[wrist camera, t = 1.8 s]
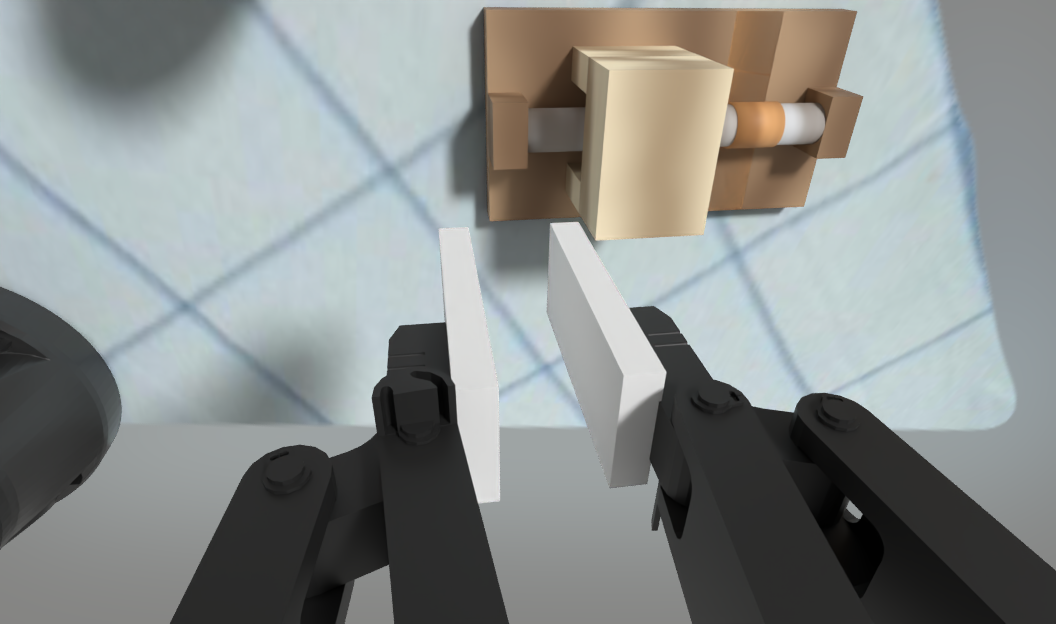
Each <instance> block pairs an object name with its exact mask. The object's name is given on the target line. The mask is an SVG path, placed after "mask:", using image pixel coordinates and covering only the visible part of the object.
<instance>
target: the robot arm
mask: <svg viewBox="0 0 1056 624" xmlns="http://www.w3.org/2000/svg"><path fill="white" fill-rule="evenodd" d="M439 241H440V256H441V271H442V286H443V302H444V317H445V322H444V323H430V324H416V325H402V326H399V327H398V329H397V330H396V331H395V333H394V334H393V335H392V337H391V338H390V339H389V350H388V365H387V369H388V371H387V376H385V377H383V378H382V379H381V380H380V381H379V383H378V384H377V385H376V386H375V387H374V390H373V394H372V403H373V409H374V416H375V422H376V429H377V433H376V434H375V435H374V436H373V437H372V438H371V439H370V440H369V441H367V442H366V443H364V444H363V445H362V446H360V447H358V448H355V449H353V450H351V451H348V452H346V453H343V454H340V455H337V456H334V457H331V458H329V457H328V456H327V454H326V453H325V452H323V451H321V450H319V449H318V448H316V447H312V446H305V445H296V446H288V447H282V448H280V449H277V450H275V451H272V452H270V453H267V454H266V455H264V456H263V457H261V458H260V459H259V460H257V461H256V462H254V463H253V464H252V465H251V466H250V468H249V469H248V470H247V472H246V473H245V474H244V476H243V477H242V479H241V481H240V483H239V485H238V487H237V490H236V491H235V494H234V495H233V497H232V499H231V501H230V504H229V506H228V508H227V510H226V512H225V514H224V516H223V518H222V520H221V522H220V524H219V526H218V528H217V530H216V532H215V534H214V536H213V538H212V540H211V542H210V544H209V546H208V548H207V550H206V552H205V554H204V556H203V558H202V560H201V562H200V564H199V566H198V568H197V570H196V572H195V574H194V576H193V578H192V580H191V582H190V584H189V586H188V588H187V590H186V592H185V594H184V596H183V598H182V600H181V602H180V604H179V606H178V608H177V610H176V612H175V614H174V616H173V618H172V620H171V622H170V624H345V619H346V615H347V610H348V607H349V602H350V599H351V594H352V590H353V586H354V579H357V578H359V577H361V576H363V575H366V574H368V573H371V572H373V571H375V570H377V569H380V568H382V567H384V566H387V565H389V569H390V579H391V592H392V602H393V614H394V624H509V622H508V618H507V614H506V610H505V606H504V602H503V598H502V594H501V590H500V587H499V583H498V579H497V575H496V571H495V567H494V563H493V559H492V556H491V552H490V548H489V544H488V540H487V536H486V532H485V528H484V524H483V521H482V517H481V513H480V509H479V505H478V503H486V502H495V501H500V466H499V465H500V459H499V385H498V380H497V375H496V370H495V364H494V359H493V354H492V348H491V343H490V338H489V333H488V327H487V322H486V317H485V311H484V306H483V301H482V296H481V290H480V285H479V280H478V275H477V269H476V264H475V259H474V253H473V248H472V243H471V238H470V232H469V227H461V228H440V229H439ZM547 314H548V317H549V320H550V323H551V326H552V328H553V331H554V334H555V337H556V340H557V342H558V345H559V348H560V351H561V354H562V356H563V359H564V362H565V365H566V368H567V370H568V373H569V376H570V379H571V382H572V384H573V387H574V390H575V393H576V396H577V398H578V401H579V404H580V407H581V410H582V412H583V415H584V418H585V421H586V424H587V426H588V429H589V432H590V435H591V438H592V440H593V443H594V446H595V449H596V452H597V454H598V457H599V460H600V463H601V466H602V468H603V471H604V474H605V477H606V480H607V482H608V485H609V488H617V487H625V486H634V485H642V484H647V482H648V476H649V471H650V465H651V464H652V466H653V468H654V471H655V472H656V475H657V477H658V479H659V483H658V488H657V494H656V499H655V505H654V510H653V515H652V530H653V531H654V530H655V531H656V530H658V526H659V521H660V517H661V519H662V522H663V525H664V529H665V533H666V536H667V539H668V543H669V546H670V550H671V553H672V556H673V560H674V563H675V566H676V570H677V573H678V577H679V580H680V583H681V587H682V590H683V594H684V597H685V600H686V604H687V607H688V610H689V614H690V618H691V621H692V624H1056V571H1055V570H1054V569H1053V568H1052V567H1051V566H1050V565H1049V564H1047V563H1046V562H1045V561H1044V560H1043V559H1042V558H1040V557H1039V556H1038V555H1037V554H1036V553H1034V552H1033V551H1032V550H1031V549H1030V548H1029V547H1027V546H1026V545H1025V544H1024V543H1023V542H1021V540H1019V539H1018V538H1017V537H1016V536H1014V535H1013V534H1012V533H1011V532H1010V531H1009V530H1008V529H1006V528H1005V527H1004V526H1003V525H1002V524H1001V523H999V522H998V521H997V520H996V519H995V518H993V517H992V516H991V515H990V514H988V512H986V511H985V510H984V509H983V508H982V507H981V506H980V505H978V504H977V503H976V502H975V501H974V500H972V499H971V498H970V497H969V496H968V495H967V494H965V493H964V492H963V491H962V490H961V489H960V488H958V487H957V486H956V485H955V484H954V483H953V482H951V481H950V480H949V479H948V478H947V477H945V476H944V475H943V474H942V473H941V472H940V471H938V470H937V469H936V468H935V467H934V466H932V465H931V464H930V463H929V462H928V461H927V460H926V459H924V458H923V457H922V456H921V455H920V454H918V453H917V452H916V451H915V450H914V449H913V448H912V447H910V446H909V445H908V444H907V443H906V442H905V441H903V440H902V439H901V438H900V437H899V436H898V435H896V434H895V433H894V432H893V431H892V430H890V429H889V428H888V427H887V426H886V425H885V424H883V423H882V422H881V421H880V420H879V419H878V418H876V417H875V416H874V415H873V414H872V413H871V412H869V411H868V410H867V409H865V408H864V407H862V406H861V405H859V404H858V403H856V402H854V401H852V400H849V399H847V398H844V397H842V396H839V395H833V394H828V393H812V394H809V395H807V396H804V397H802V398H801V399H800V401H799V402H798V404H797V405H796V408H795V411H794V413H792V412H785V411H777V410H769V409H762V408H758V407H753V406H751V404H750V402H749V400H748V399H747V398H746V397H745V396H744V395H743V394H742V392H741V391H739V390H737V389H736V388H734V387H732V386H731V385H729V384H726V383H723V382H720V381H717V380H713V379H712V377H711V376H710V374H709V373H708V371H707V370H706V368H705V367H704V366H703V364H702V363H701V361H700V360H699V358H698V357H697V355H696V354H695V352H694V351H693V349H692V348H691V346H690V345H688V344H687V341H686V339H685V338H684V336H683V335H682V334H680V330H679V329H678V327H677V326H676V325H675V323H674V322H673V320H672V319H671V317H669V316H668V315H666V314H665V313H663V312H662V311H660V310H659V309H657V308H656V307H654V306H648V307H634V308H629V307H628V306H627V304H626V302H625V301H624V299H623V297H622V295H621V294H620V292H619V290H618V289H617V287H616V285H615V283H614V282H613V280H612V278H611V277H610V275H609V273H608V271H607V270H606V268H605V266H604V265H603V263H602V261H601V260H600V258H599V256H598V254H597V253H596V251H595V249H594V248H593V246H592V244H591V242H590V241H589V239H588V237H587V236H586V234H585V232H584V231H583V229H582V227H581V225H580V224H579V222H564V223H550V240H549V265H548V291H547ZM120 421H121V400H120V394H119V391H118V387H117V384H116V382H115V379H114V377H113V375H112V373H111V371H110V369H109V368H108V366H107V364H106V363H105V361H104V360H103V359H102V357H101V356H100V355H99V353H98V352H97V351H96V350H95V348H94V347H93V346H92V345H91V344H90V343H89V342H88V341H87V340H86V339H85V338H84V337H83V336H82V335H81V334H80V333H79V332H77V331H76V330H75V329H74V328H73V327H71V326H70V325H69V324H68V323H66V322H65V321H64V320H62V319H61V318H60V317H58V316H57V315H55V314H53V313H52V312H50V311H49V310H47V309H45V308H44V307H42V306H40V305H39V304H37V303H35V302H33V301H31V300H29V299H27V298H25V297H23V296H21V295H19V294H16V293H14V292H12V291H9V290H7V289H4V288H2V287H0V550H1V548H2V547H3V546H4V545H6V544H7V543H8V542H10V541H11V540H12V539H14V538H15V537H16V536H17V535H19V534H20V533H21V532H22V531H24V530H25V529H26V528H28V527H29V526H30V525H31V524H33V523H34V522H35V521H36V520H37V519H39V518H40V517H41V516H42V515H43V514H45V513H46V512H47V511H48V510H49V509H50V508H51V507H52V506H53V505H54V504H55V503H56V502H58V501H60V500H62V499H63V498H65V497H66V496H68V495H69V494H70V493H72V492H73V491H74V490H76V489H77V488H78V487H79V486H81V485H82V484H83V483H84V482H85V481H86V480H87V479H88V478H89V477H90V475H91V474H92V473H93V472H94V471H95V469H96V468H97V467H98V465H99V464H100V462H101V460H102V459H103V457H104V455H105V454H106V452H107V451H108V449H109V447H110V446H111V444H112V442H113V440H114V439H115V437H116V434H117V432H118V429H119V426H120ZM849 500H850V501H851V502H852V503H853V504H854V505H855V506H856V507H857V508H858V509H859V510H860V511H861V512H862V514H863V515H862V517H861V519H858V518H856V517H855V516H853V515H852V514H851V513H850V512H849V511H848V510H847V509H846V507H847V505H848V502H849Z"/></svg>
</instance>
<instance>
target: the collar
mask: <svg viewBox="0 0 1056 624" xmlns="http://www.w3.org/2000/svg"><path fill="white" fill-rule="evenodd" d="M733 72H734V69H733V68H730V67H728V66H725V65H723V64H720V63H717V62H715V61H712V60H710V59H707V58H705V57H702V56H700V55H697V54H695V53H692V52H690V51H687V50H685V49H682V48H680V47H677V46H573V54H572V73H571V81H572V82H573V83H575V84H576V85H577V86H578V87H579V88H580V89H581V90H582V91H584V92H585V93H586V106H585V121H584V137H583V152H582V162H581V163H567V170H566V189H565V191H566V193H567V195H568V196H569V198H570V200H571V201H572V203H573V204H574V206H575V208H576V209H577V211H578V213H579V214H580V216H581V218H582V219H583V221H584V223H585V224H586V226H587V228H588V229H589V231H590V233H591V234H592V236H593V237H594V239H595V241H596V240H615V239H634V238H653V237H672V236H691V235H703V234H704V229H705V223H706V218H707V212H708V207H709V202H710V196H711V191H712V185H713V180H714V175H715V169H716V164H717V158H718V153H719V148H720V142H721V137H722V131H723V126H724V121H725V115H726V110H727V104H728V99H729V94H730V88H731V83H732V77H733Z"/></svg>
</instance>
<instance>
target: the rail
mask: <svg viewBox="0 0 1056 624" xmlns="http://www.w3.org/2000/svg"><path fill="white" fill-rule="evenodd" d="M856 14H857V11H851V10H845V9H722V8H507V7H484V58H485V109H486V161H487V212H488V216H489V220H490V221H507V220H528V219H550V218H571V217H581V216H580V214H579V213H578V211H577V209H576V208H575V206H574V204H573V203H572V201H571V200H570V198H569V196H568V195H567V193H566V191H565V189H566V170H567V163H581V162H582V152H583V137H584V121H585V106H586V93H585V92H584V91H582V90H581V89H580V88H579V87H578V86H577V85H576V84H575V83H573V82H572V81H571V73H572V54H573V46H677V47H680V48H682V49H685V50H687V51H690V52H692V53H695V54H697V55H700V56H702V57H705V58H707V59H710V60H712V61H715V62H717V63H720V64H723V65H725V66H728V67H730V68H733V69H734V72H733V77H732V83H731V88H730V94H729V99H728V104H727V110H726V115H725V121H724V126H723V131H722V137H721V142H720V148H719V153H718V158H717V164H716V169H715V175H714V180H713V185H712V191H711V196H710V202H709V207H708V211H720V210H741V209H762V208H783V207H804V204H805V201H806V197H807V193H808V190H809V186H810V182H811V179H812V175H813V171H814V168H815V164H816V160H817V159H822V158H845V156H846V153H847V150H848V146H849V143H850V140H851V136H852V133H853V129H854V126H855V123H856V119H857V116H858V113H859V109H860V106H861V103H862V99H863V96H861V95H858V94H855V93H852V92H849V91H846V90H843V89H840V88H837V83H838V80H839V76H840V72H841V69H842V65H843V61H844V58H845V54H846V50H847V47H848V43H849V39H850V36H851V32H852V28H853V25H854V21H855V17H856Z"/></svg>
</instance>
